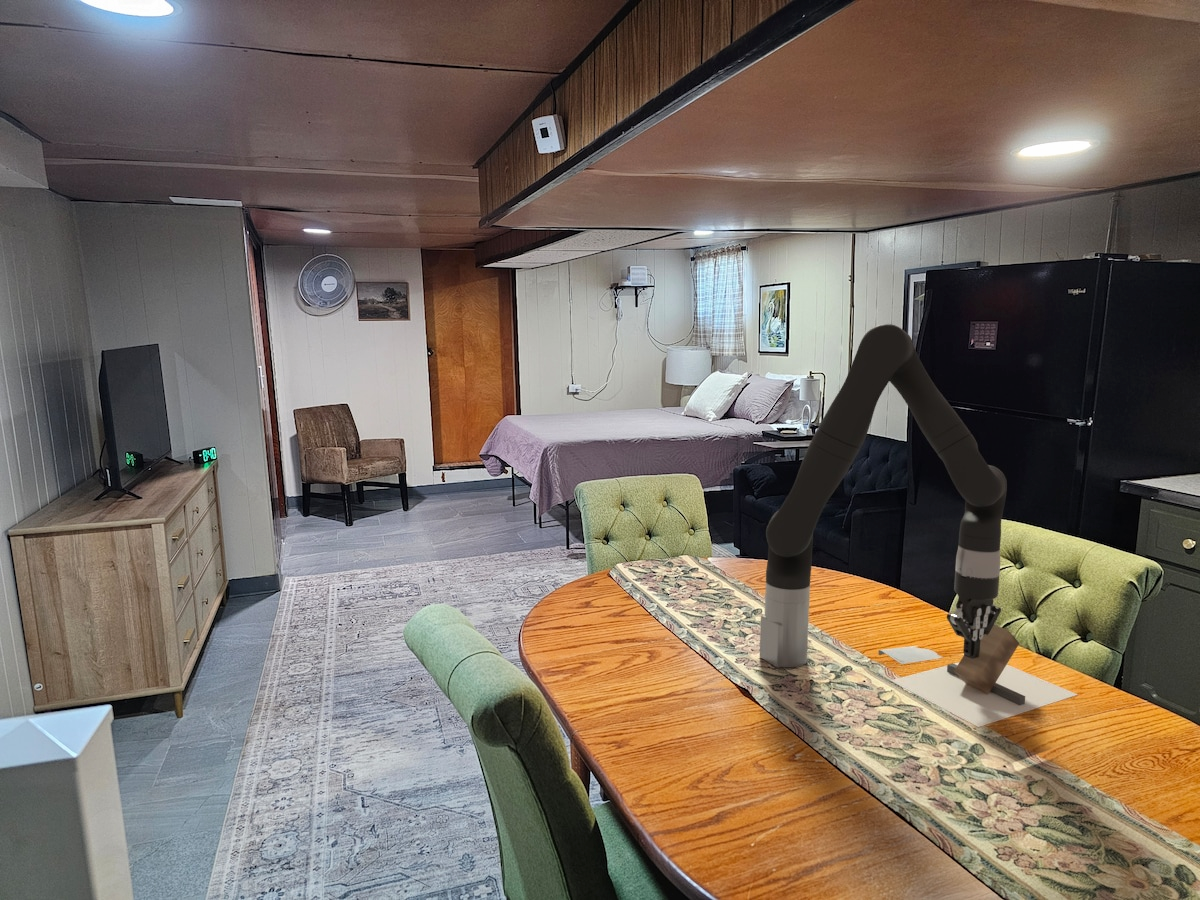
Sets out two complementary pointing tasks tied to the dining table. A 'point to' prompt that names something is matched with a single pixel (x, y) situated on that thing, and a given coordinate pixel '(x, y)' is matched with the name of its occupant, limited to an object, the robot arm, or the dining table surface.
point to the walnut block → (988, 660)
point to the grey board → (977, 707)
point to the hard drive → (910, 654)
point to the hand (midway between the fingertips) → (971, 656)
